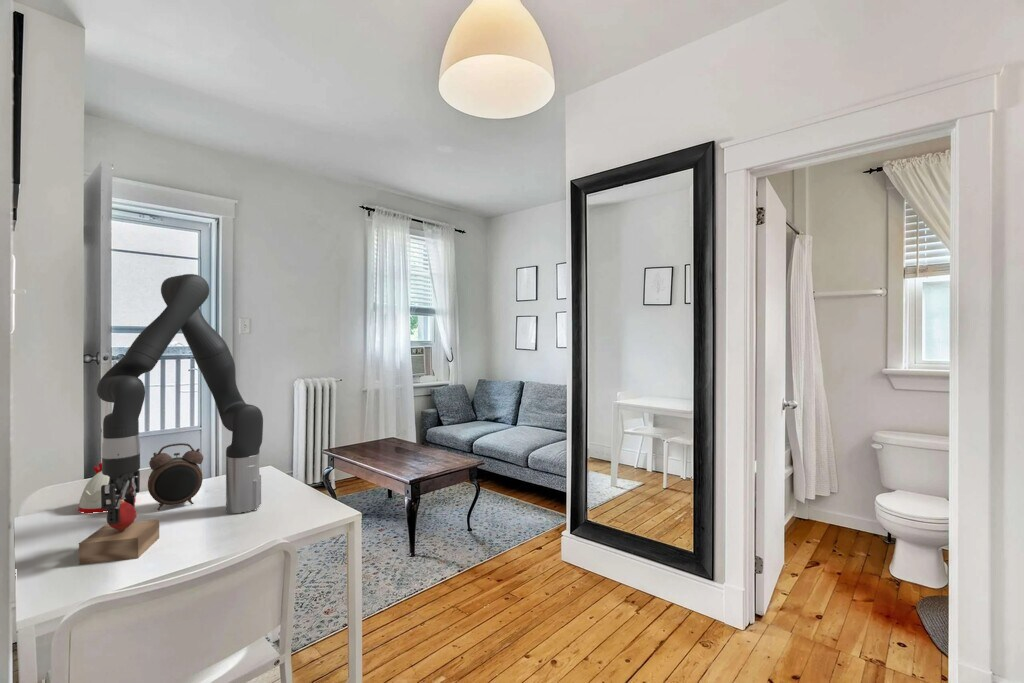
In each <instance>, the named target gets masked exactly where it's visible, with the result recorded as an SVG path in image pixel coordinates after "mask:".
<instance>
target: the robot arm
mask: <svg viewBox="0 0 1024 683" xmlns="http://www.w3.org/2000/svg"><path fill="white" fill-rule="evenodd" d="M160 294H161V297H162V299H163V300H162V301H164V303H165V305H166V307H165V308H164V309H163V311H162V312H161V313H160V314H158V316H157V317H156V318H155V319H154V320H152V321H151V323H150V324H148V325H147V326H146V327H145V328H144V329H143V330H142V331H141V332H140V333H139V334H138V336H137V337H136V338H135V340H133V342H132V343H131V345H130V347H129V348H128V349H127V351H126V352H125V353H124V356H123V357H121V359H119V360H118V361H117V362H116V363H115V364H114V365H113V366H112V367H111V368H109V370H107V372H105V373H104V375H103V376H102V377H101V379H100V380H99V382H98V383H97V385H96V386H97V387H96V393H97V396H98V397H99V399H101V400H102V401H104V402H106V403H111V404H112V403H113V405H112V406H113V407H112V410H111V413H109V414H107V415H105V416H104V418H103V419H102V420H103V421H102V422H103V424H102V437H103V438H102V446H101V463H102V474H103V475H107V476H109V477H110V478H109V483H108V485H102V486H101V509H102V510H108V512H107V515H108V523H107V524H109V525H111V524H117V523H119V522H120V508H119V507H120V503H121V500H122V499H123V500H124V501H125V502H127V503H129V504H131V505H132V506H134V508H135V503H136V501H135V498H134V497H137V494H138V493H140V490H141V489H140V484H141V483H140V481H141V480H140V479H141V477H140V476H141V474H140V473H141V471H140V469H141V441H140V436H139V435H140V430H139V429H140V428H139V425H140V424H139V423H140V422H139V421H140V420H139V418H140V415H141V412H142V408H143V405H144V403H145V402H144V401H145V397H146V389H145V388H146V387H145V384H144V382H143V381H142V379H140V378H139V377H140V376H142V375H143V374H146V373H148V372H151V371H152V370H153V369H154V368H155V366H156V365H157V364H158V362H159V361H160V359H161V358H162V356H163V355H164V353H165V351H166V350H167V348H168V347H169V345H170V344H171V342H172V341H173V340H174V338H175V337H176V335H177V334H178V333H179V331H181V332H182V334H183V337H184V338H185V340H186V343H187V345H188V346H189V349H190V351H191V354H192V356H193V359H194V361H195V363H196V364H197V367H198V369H199V372H200V373H201V375H202V377H203V379H204V381H205V383H206V385H207V387H208V389H209V391H210V392H211V395H212V397H213V400H214V402H215V406H216V407H217V412H218V414H219V418H220V420H221V423H222V426H223V427H224V428H225V429H226V430H228V431H229V432H231V433H232V434H231V435H232V436H231V444H230V445H228V446H227V447H226V449H225V511H227V512H226V513H228V512H229V513H228V514H232V513H238V514H242V513H241V512H245V513H247V512H246V511H250V512H252V511H251V510H254V511H256V510H255V509H257V508H258V507H260V506H261V505H262V475H261V474H260V448H261V447H262V444H263V434H264V433H263V432H264V417H263V416H264V415H263V412H262V410H261V409H260V408H259V407H258V406H256V405H254V404H248V403H246V402H245V401H244V399H243V397H242V395H241V393H240V391H239V389H238V385H237V380H236V377H237V376H236V364H235V359H234V357H233V355H232V353H231V351H230V347H229V346H228V344H227V342H226V341H225V340H224V338H223V337H222V336H221V335H220V334H219V332H217V331H216V330H215V329H214V328H213V327H212V326H211V325H210V324H209V322H207V319H206V318H205V317H204V316H203V313H202V312H201V311H202V310H201V309H200V307H201V306H202V305H203V304H204V303H205V302H206V301H207V299H208V298H209V296H210V286H209V283H208V281H207V280H206V279H205V278H204V277H202V276H201V275H199V274H194V273H185V274H180V275H174V276H170V277H168V278H166V279H164V280H163V281H162V283H161V286H160ZM116 495H117V496H116ZM124 498H125V499H124ZM106 500H107V504H106ZM116 500H117V501H116ZM260 504H261V505H260ZM259 505H260V506H259ZM135 509H136V508H135ZM258 509H259V508H258ZM258 509H257V510H258Z"/></svg>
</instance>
